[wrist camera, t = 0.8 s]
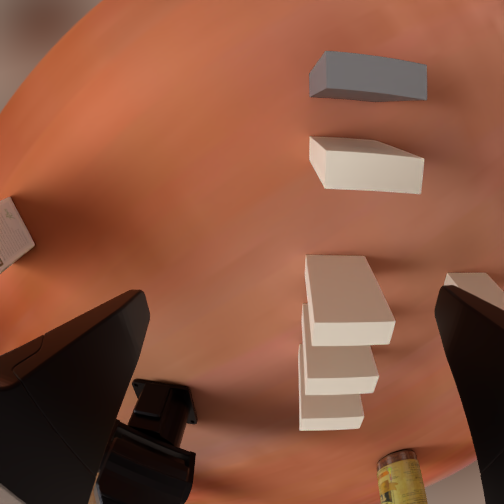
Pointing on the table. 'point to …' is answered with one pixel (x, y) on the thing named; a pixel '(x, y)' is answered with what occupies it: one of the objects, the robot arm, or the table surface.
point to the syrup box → (12, 235)
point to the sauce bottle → (400, 479)
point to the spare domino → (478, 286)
